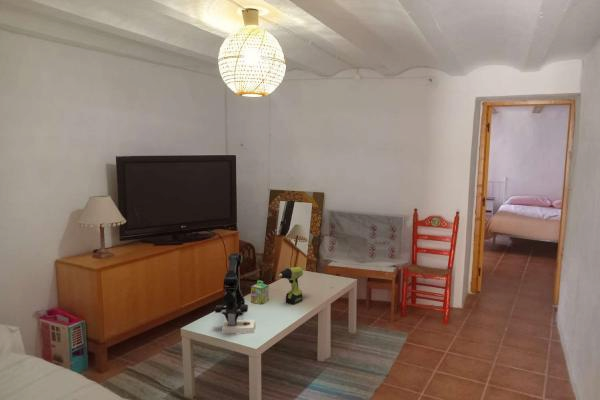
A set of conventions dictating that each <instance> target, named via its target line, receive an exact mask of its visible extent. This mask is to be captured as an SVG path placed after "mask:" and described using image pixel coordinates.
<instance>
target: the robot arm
mask: <svg viewBox="0 0 600 400" xmlns="http://www.w3.org/2000/svg"><path fill="white" fill-rule="evenodd" d="M227 261H229V264H228V269H227V270H228V272H227V273H225V275H224V278H223V285H222V286H223V288H222V290H225V293H224V295H223V301H224V302H225V303H226V304H225V306H224V305H223V304H217V305H216V306H215V309H214V314H215V313H216V314H217V313H219V314H220V313H221V315H224V316H225V320H227V321H228V314H233V313H234V312H236V319H235V322H236V321H237V320H238V317H239V316H242V315H243V313H247V312H248V311H249V305H248V304H246V303H245V302H246V301H245V297H244V295H243V292H242V290H241V289H240V288H241V287H240V286H241V284H240V282H241V281H240V266H241V264H242V261H243V254H241V252H240V253H239V252H235V253H233V252H232V253H230V254H229V255H227Z"/></svg>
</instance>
